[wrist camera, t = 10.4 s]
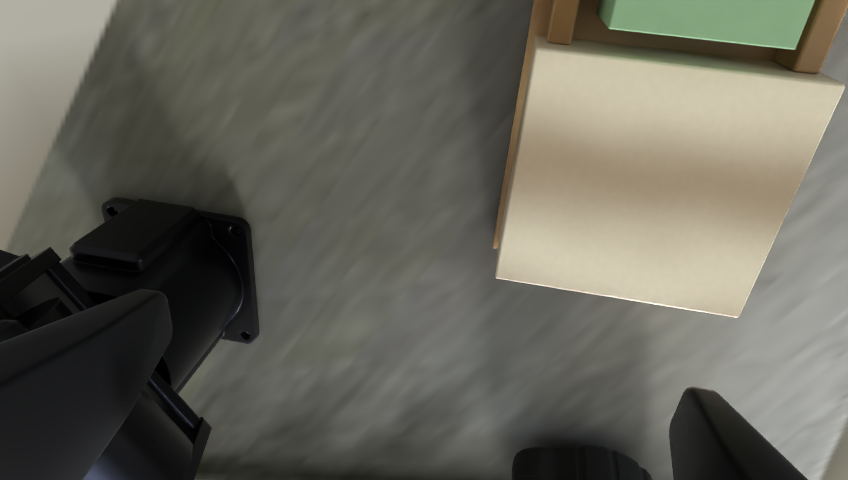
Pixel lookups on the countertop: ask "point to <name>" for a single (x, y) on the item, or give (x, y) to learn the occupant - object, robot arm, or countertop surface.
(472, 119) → the countertop surface
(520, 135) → the frame
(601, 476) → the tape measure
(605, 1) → the green rectangular block
